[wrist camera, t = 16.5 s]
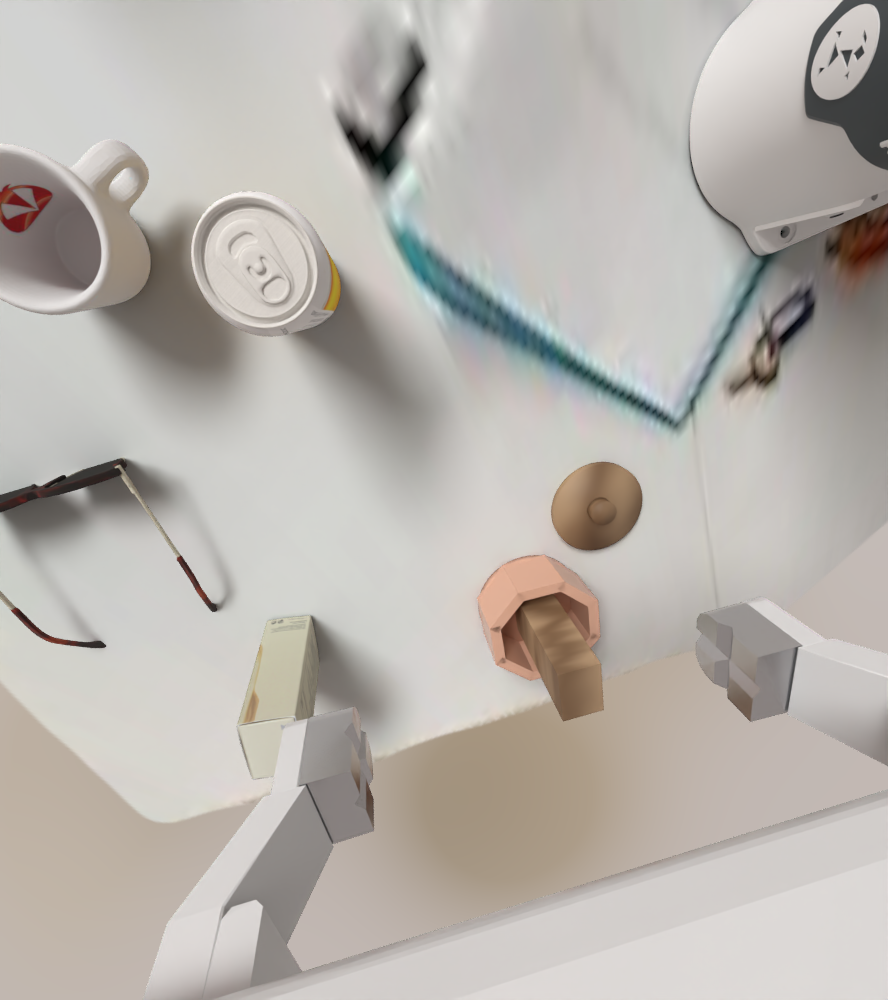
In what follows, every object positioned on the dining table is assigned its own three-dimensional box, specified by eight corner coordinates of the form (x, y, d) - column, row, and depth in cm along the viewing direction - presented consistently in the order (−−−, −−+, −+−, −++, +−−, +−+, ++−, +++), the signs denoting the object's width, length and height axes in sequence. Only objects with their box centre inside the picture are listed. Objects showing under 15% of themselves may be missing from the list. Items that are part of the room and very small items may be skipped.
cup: (108, 117, 29) (22, 50, 22) (217, 224, 32) (174, 198, 25) (10, 248, 31) (-100, 227, 23) (123, 338, 34) (56, 345, 26)
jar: (571, 544, 47) (597, 572, 42) (578, 627, 51) (602, 661, 46) (470, 569, 46) (484, 601, 41) (486, 651, 50) (500, 689, 45)
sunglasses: (143, 446, 37) (115, 468, 33) (235, 597, 44) (222, 632, 40) (-28, 498, 36) (-80, 528, 32) (94, 642, 44) (65, 683, 39)
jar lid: (633, 450, 44) (647, 457, 42) (637, 531, 48) (651, 541, 46) (544, 474, 44) (553, 483, 42) (555, 554, 47) (565, 566, 45)
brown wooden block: (544, 581, 47) (600, 663, 36) (549, 620, 49) (603, 709, 38) (511, 589, 46) (557, 675, 35) (517, 628, 48) (563, 721, 37)
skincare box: (266, 618, 44) (232, 722, 33) (312, 613, 45) (295, 713, 34) (277, 671, 47) (250, 784, 35) (320, 665, 47) (307, 774, 36)
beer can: (304, 219, 33) (262, 151, 19) (357, 297, 35) (354, 286, 21) (237, 271, 33) (149, 241, 20) (294, 344, 36) (251, 363, 22)
